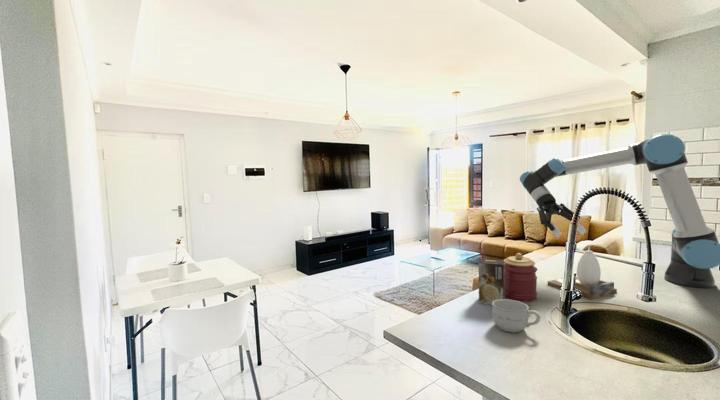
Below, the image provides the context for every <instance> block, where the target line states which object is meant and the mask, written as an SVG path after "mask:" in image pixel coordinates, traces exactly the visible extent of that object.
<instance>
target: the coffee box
mask: <svg viewBox="0 0 720 400" xmlns="http://www.w3.org/2000/svg"><path fill="white" fill-rule="evenodd" d="M504 263H505V262H504V260H503V259H502V260H500V259H486V258H485V259H483V258H478V304H483V305H491V306H493V305H492V302H493V301H495V300H499V299H505V297H504Z"/></svg>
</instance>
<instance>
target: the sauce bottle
mask: <svg viewBox="0 0 720 400" xmlns="http://www.w3.org/2000/svg"><path fill="white" fill-rule="evenodd" d="M601 272H602V271H601V267H600V263H599V260H598V258H597V256H596V255H595V254H594V251H593V250H591V246H590V244H588V249H587V250H585V251H584V253H582V255H581V256H580V258H579V261H578V262H577V266H576V277H578V280H579V282H580V283H581V284H584V285H587V286H593V285H597V284H598V282H599V280H601V276H602V274H601Z"/></svg>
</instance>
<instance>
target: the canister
mask: <svg viewBox="0 0 720 400" xmlns="http://www.w3.org/2000/svg"><path fill="white" fill-rule="evenodd" d="M503 263H504V298H505V299H508V300H515V301H519V302H522V303H524V302H532V301H535V300H536V299H537V296H538V294H537V293H538V291H537V287H538V286H537V284H538V283H537V279H538V276H537V271H538V268H537V267H536V266H535V265H536V262H535V261H533V260H532V259H531V258H529V257H525V256H523V254H522V253H520V252H517V253H516V254H515V255H512V256H508V257H506V258H504V259H503Z"/></svg>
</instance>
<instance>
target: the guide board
mask: <svg viewBox="0 0 720 400" xmlns="http://www.w3.org/2000/svg"><path fill="white" fill-rule="evenodd" d="M575 277H576V282H575V288H576V289H578V290H580V291H581V294H582V298H584V299H588V300H593V299H597V298H600V297H601V298H602V297H604V296H608V295H612V294H616V293H617V292H618V289H617V288H615V282H614V281H605V280H603V279H600V280H599V282H598V284H597V285H593V286H587V285H584V284H581V283H580V282H579V280H578V277H577V276H575ZM563 278H564V277H562V278H557V279H552V280H547V285H548V286H550V287H553V288H556V289H559V290H561V289H560V288H561V287H562V281H563Z"/></svg>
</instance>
